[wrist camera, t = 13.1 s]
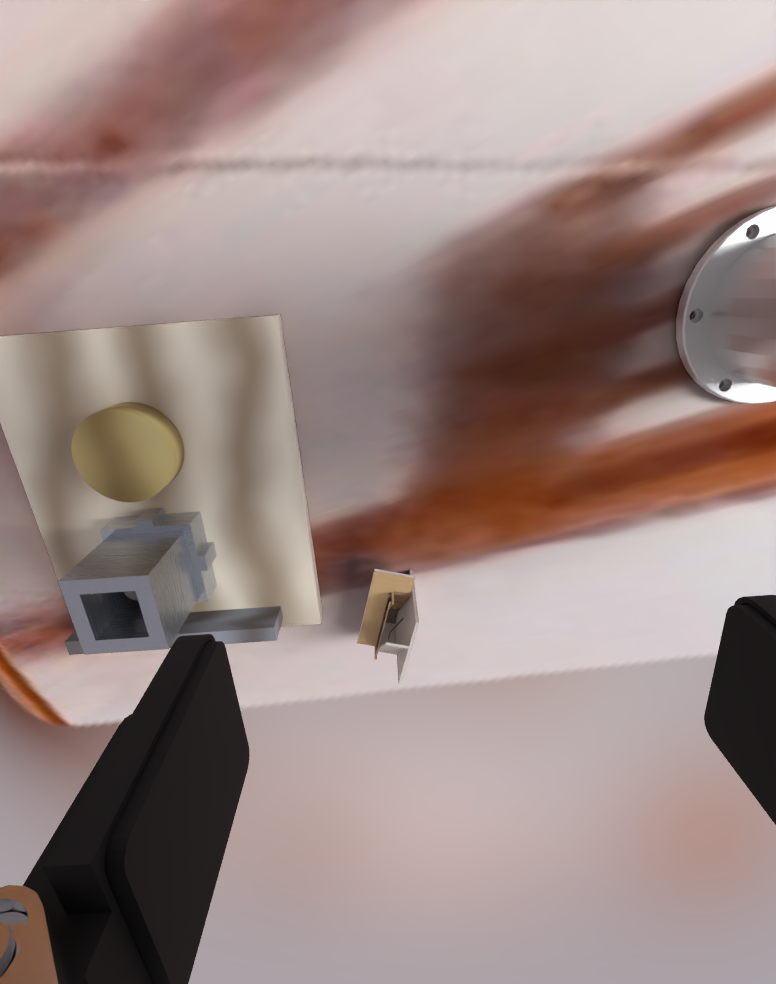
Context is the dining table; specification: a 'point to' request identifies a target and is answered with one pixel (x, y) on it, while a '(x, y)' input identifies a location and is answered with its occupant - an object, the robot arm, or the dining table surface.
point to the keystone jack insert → (140, 582)
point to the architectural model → (383, 596)
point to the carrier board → (216, 434)
